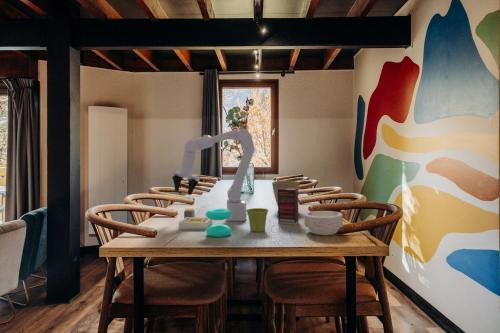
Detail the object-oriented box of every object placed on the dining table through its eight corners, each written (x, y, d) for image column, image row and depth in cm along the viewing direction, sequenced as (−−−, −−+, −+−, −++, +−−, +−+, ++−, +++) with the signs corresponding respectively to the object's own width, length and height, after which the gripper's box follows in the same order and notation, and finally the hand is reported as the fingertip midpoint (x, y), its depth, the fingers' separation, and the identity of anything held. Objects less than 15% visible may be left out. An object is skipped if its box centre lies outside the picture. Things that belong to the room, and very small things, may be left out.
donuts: (212, 207, 147) (234, 208, 143) (213, 231, 147) (235, 232, 144) (201, 211, 138) (224, 212, 134) (201, 236, 138) (225, 238, 135)
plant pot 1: (253, 234, 141) (252, 212, 141) (242, 229, 149) (242, 209, 149) (272, 231, 145) (272, 210, 145) (261, 227, 154) (261, 207, 153)
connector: (194, 220, 170) (194, 208, 169) (192, 222, 166) (192, 209, 165) (186, 220, 170) (186, 208, 170) (184, 222, 166) (184, 209, 166)
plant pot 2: (281, 208, 202) (281, 180, 202) (304, 210, 194) (304, 181, 193) (267, 211, 190) (266, 182, 189) (291, 214, 182) (291, 184, 181)
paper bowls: (301, 229, 149) (300, 210, 148) (336, 228, 150) (336, 209, 149) (309, 238, 134) (309, 217, 133) (348, 237, 135) (348, 216, 134)
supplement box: (298, 222, 161) (298, 188, 161) (295, 225, 157) (295, 189, 156) (281, 221, 165) (280, 187, 164) (277, 223, 161) (277, 189, 160)
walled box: (212, 223, 162) (211, 217, 161) (206, 229, 150) (206, 222, 149) (186, 223, 163) (186, 217, 163) (178, 229, 151) (178, 222, 151)
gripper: (170, 162, 167) (165, 190, 167) (195, 167, 161) (190, 196, 161) (179, 162, 173) (174, 189, 174) (204, 168, 167) (199, 196, 168)
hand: (183, 193), depth 168 cm, fingers open, 7 cm apart
